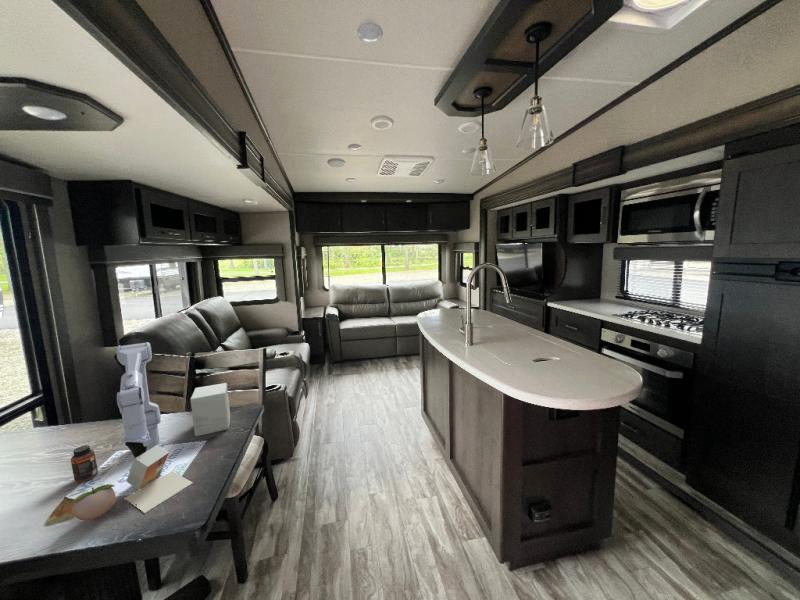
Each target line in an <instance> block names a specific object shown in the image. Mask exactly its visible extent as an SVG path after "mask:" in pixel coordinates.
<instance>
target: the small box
mask: <svg viewBox="0 0 800 600" xmlns="http://www.w3.org/2000/svg"><path fill="white" fill-rule="evenodd" d="M169 454H170V452H169V451H167V450H166V449H165V448H163V446H161V447H160V446H159V445H156V446H154V447H153V448H151V449H149V450H148V451H146V452H145V453H143V454H141V455H140V456H138V457H136V458H133V459H134V460H133V462H132V465H131V468H130V470H129V473H128V476H127V478H126V482H127V483H128V484H130V486H132V487H133V488H135V489H137V491H138V490H139V489H142V488H143V487H145V486H147V485H149V484H150V483H151V481H152V482H153V480H155V479H156V478H158V477H159V476H160V475H161V473H162V471H163V468H164V466H165V463H166V462H167V459H168V457H169Z"/></svg>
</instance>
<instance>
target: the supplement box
mask: <svg viewBox="0 0 800 600" xmlns="http://www.w3.org/2000/svg"><path fill="white" fill-rule="evenodd" d="M190 406H191V415H192V421H193V431H194V437H198V436H203V435H209V434H213V433H216V432H220V431H225V430H229V429H230V423H231V410H230V409H231V408H230V400H229V392H228V383H227V382H223V383H218V384H211V385H206V386H199V387H195V388H194V391H193V393H192V395H191V397H190Z"/></svg>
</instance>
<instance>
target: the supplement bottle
mask: <svg viewBox="0 0 800 600" xmlns="http://www.w3.org/2000/svg"><path fill="white" fill-rule="evenodd" d="M72 453H73V455H72V456H71V458H70V463H71V470H72V474H73V475H72V476H73V480H74V482H75V483H85V482H87V481H90V480H92V479H93V478H95V477H96V476H97V475H98V473H99V469H98V463H97V459H96V454H95V450H93V449H91V447H90V445H88V444H85V445H81V446H78V447H76V448H75V449H73V451H72Z"/></svg>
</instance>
